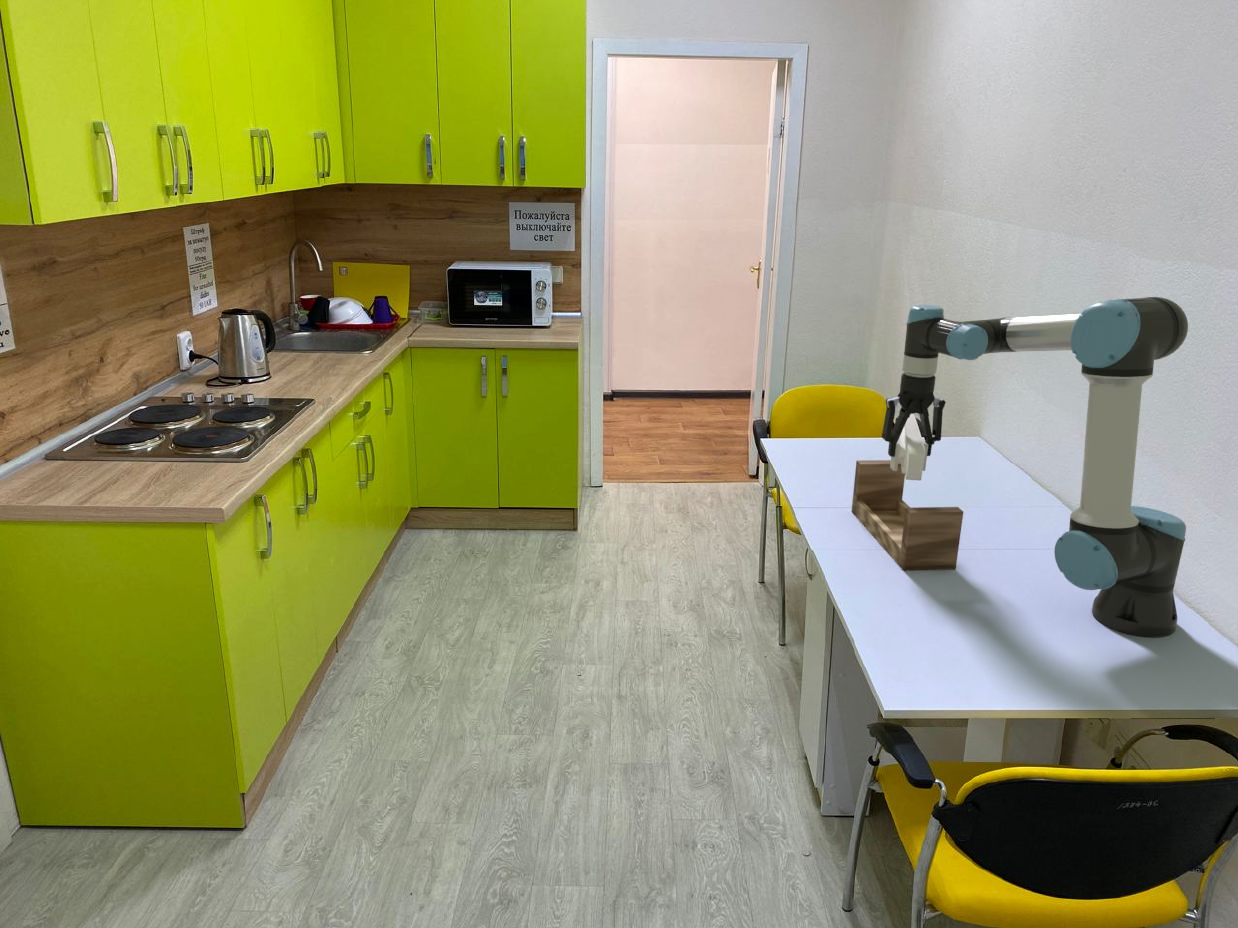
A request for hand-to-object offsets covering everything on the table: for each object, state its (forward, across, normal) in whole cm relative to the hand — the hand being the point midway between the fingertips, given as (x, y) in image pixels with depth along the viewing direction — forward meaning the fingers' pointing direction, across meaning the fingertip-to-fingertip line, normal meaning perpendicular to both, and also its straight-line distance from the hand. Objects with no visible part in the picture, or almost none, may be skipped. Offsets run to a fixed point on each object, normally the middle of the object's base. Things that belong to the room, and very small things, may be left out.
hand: (907, 468), depth 226 cm
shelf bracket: (+1, -1, -1) cm, 2 cm away
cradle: (+18, 0, 0) cm, 18 cm away
